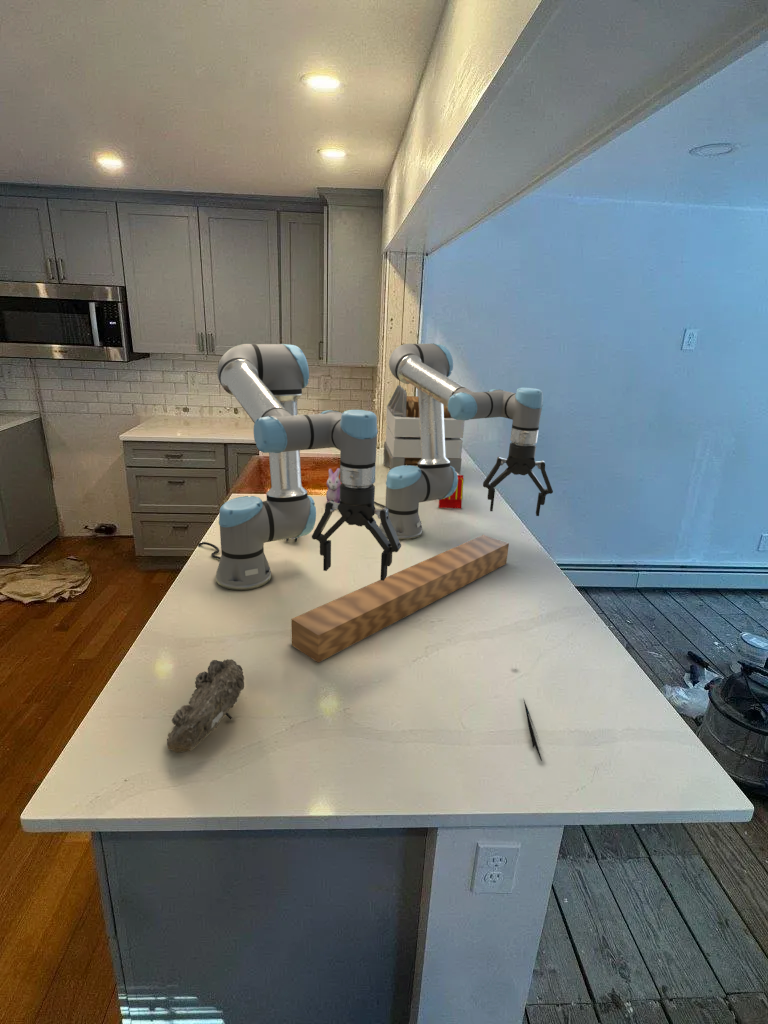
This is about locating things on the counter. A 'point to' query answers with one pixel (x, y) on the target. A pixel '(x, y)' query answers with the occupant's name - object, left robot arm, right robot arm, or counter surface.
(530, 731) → the feather
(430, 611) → the counter surface
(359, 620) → the wooden beam
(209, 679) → the fossil
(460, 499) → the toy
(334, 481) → the figurine
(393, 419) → the grey wooden crate
